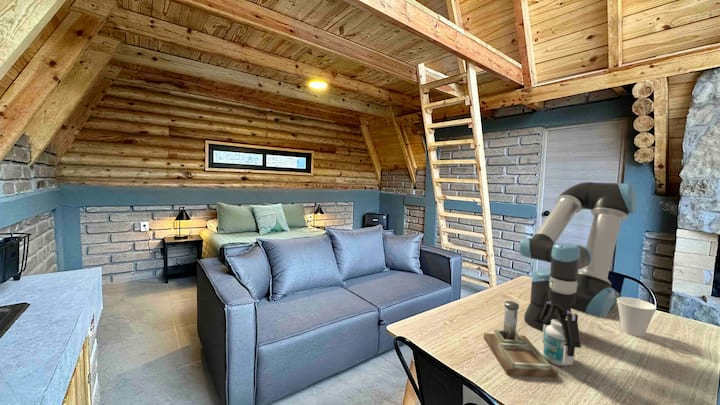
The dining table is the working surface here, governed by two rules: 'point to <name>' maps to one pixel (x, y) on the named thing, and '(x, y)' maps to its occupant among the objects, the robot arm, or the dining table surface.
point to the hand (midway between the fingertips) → (556, 352)
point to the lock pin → (510, 320)
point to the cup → (635, 315)
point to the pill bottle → (554, 343)
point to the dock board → (519, 356)
